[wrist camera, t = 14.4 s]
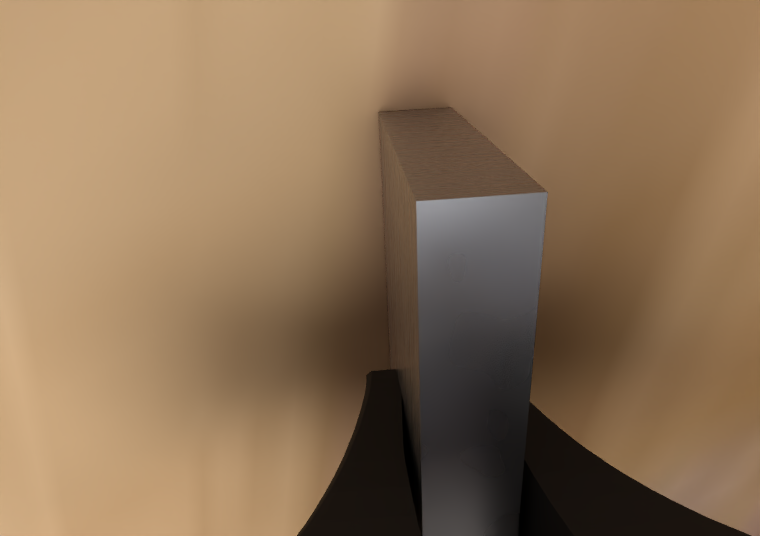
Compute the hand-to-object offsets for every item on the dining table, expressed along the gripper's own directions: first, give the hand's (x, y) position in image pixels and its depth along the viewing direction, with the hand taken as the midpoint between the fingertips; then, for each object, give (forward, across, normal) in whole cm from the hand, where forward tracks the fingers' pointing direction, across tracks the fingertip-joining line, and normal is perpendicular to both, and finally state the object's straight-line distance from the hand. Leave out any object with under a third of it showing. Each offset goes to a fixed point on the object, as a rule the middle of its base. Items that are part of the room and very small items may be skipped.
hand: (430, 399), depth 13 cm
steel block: (+2, 0, +7) cm, 7 cm away
